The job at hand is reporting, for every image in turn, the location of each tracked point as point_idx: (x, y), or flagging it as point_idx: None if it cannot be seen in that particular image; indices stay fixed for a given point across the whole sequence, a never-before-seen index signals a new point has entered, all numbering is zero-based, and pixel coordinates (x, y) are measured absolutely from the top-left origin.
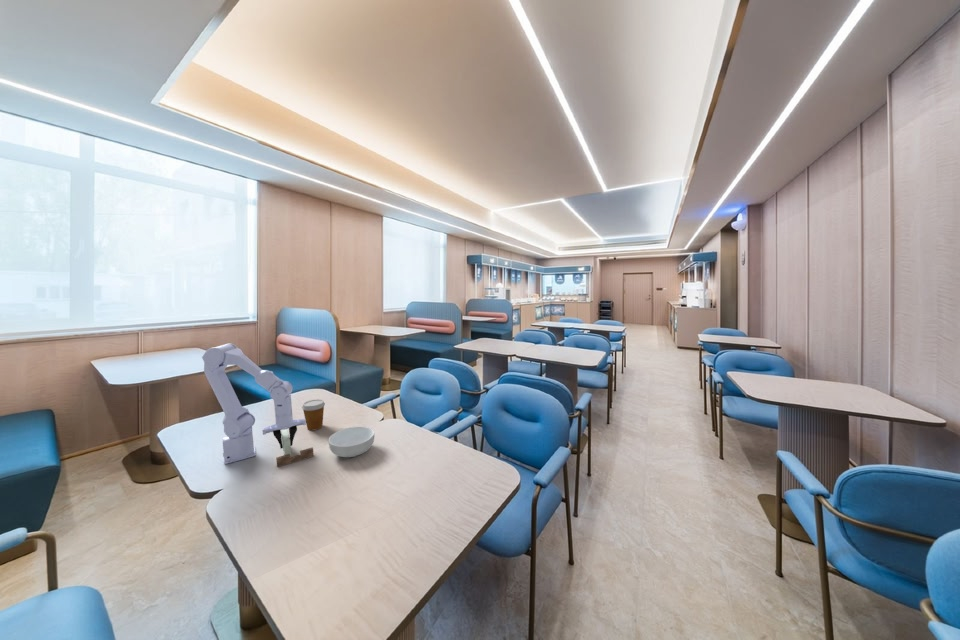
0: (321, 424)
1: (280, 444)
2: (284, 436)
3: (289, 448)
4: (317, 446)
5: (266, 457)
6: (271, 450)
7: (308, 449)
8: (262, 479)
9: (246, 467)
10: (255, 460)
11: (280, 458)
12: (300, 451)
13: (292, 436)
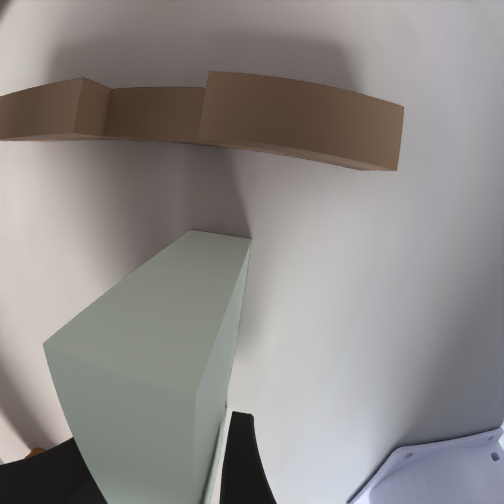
0: (26, 457)
1: (249, 452)
2: None
3: (160, 268)
4: (9, 268)
5: (363, 399)
6: (293, 461)
7: (16, 108)
8: (476, 36)
9: (498, 333)
10: (426, 398)
11: (350, 95)
12: (75, 107)
13: (68, 459)
